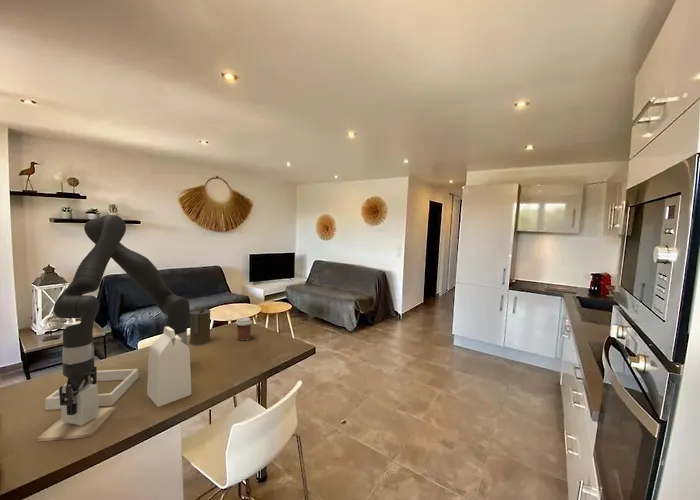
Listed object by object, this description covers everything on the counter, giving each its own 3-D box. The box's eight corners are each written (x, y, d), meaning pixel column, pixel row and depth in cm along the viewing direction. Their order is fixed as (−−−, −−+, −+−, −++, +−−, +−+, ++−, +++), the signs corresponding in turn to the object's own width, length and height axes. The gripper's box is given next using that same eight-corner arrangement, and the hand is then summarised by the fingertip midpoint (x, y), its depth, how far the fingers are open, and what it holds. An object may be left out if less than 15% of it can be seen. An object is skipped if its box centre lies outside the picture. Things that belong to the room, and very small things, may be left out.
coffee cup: (242, 343, 169) (242, 322, 168) (231, 339, 174) (232, 319, 173) (255, 338, 177) (255, 318, 176) (245, 335, 182) (245, 315, 181)
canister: (194, 338, 174) (194, 304, 172) (213, 338, 175) (213, 304, 173) (185, 345, 163) (186, 309, 161) (206, 345, 164) (206, 309, 162)
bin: (138, 377, 128) (138, 368, 127) (111, 405, 108) (111, 394, 108) (83, 380, 124) (83, 371, 123) (45, 410, 104) (45, 398, 104)
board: (116, 409, 106) (116, 406, 106) (91, 436, 92) (91, 433, 92) (69, 413, 103) (69, 410, 103) (36, 441, 89) (36, 438, 89)
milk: (146, 394, 116) (146, 328, 114) (179, 383, 125) (179, 321, 123) (158, 407, 108) (157, 336, 107) (191, 394, 117) (191, 329, 115)
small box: (99, 415, 100) (98, 384, 99) (81, 426, 94) (80, 393, 93) (79, 411, 101) (78, 381, 100) (60, 422, 96) (59, 390, 95)
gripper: (80, 349, 102) (81, 395, 104) (47, 368, 88) (49, 422, 90) (105, 348, 104) (106, 394, 105) (77, 367, 90) (78, 420, 91)
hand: (80, 407), depth 97 cm, fingers closed on small box, 7 cm apart
